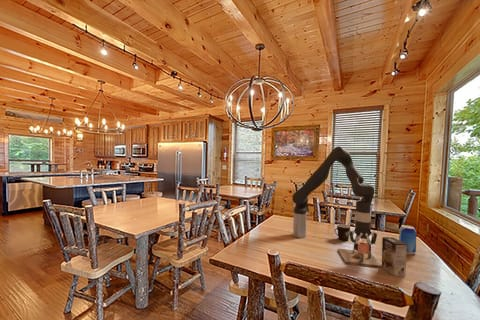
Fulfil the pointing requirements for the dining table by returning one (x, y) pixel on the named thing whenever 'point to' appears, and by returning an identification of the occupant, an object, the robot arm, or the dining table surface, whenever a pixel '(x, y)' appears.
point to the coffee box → (394, 256)
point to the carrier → (359, 258)
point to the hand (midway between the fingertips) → (362, 250)
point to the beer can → (408, 238)
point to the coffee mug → (343, 232)
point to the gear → (363, 247)
